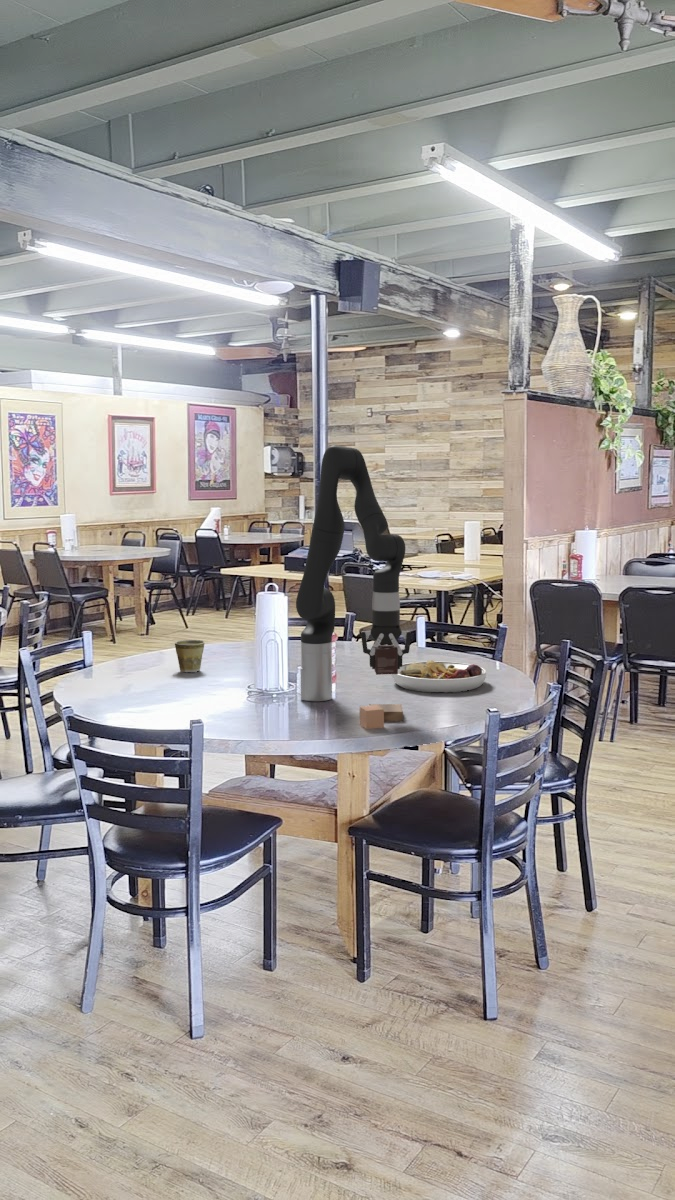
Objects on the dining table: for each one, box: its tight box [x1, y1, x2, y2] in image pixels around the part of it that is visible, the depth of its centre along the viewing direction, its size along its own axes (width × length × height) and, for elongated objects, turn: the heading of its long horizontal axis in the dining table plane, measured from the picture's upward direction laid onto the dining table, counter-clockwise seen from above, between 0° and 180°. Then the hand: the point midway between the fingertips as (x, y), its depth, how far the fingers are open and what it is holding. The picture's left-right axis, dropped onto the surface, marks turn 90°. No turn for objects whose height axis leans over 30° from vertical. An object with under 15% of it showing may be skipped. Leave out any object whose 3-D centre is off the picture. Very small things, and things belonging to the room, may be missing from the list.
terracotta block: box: [359, 705, 385, 730], centre depth 267 cm, size 5×5×5 cm
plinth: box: [368, 703, 404, 722], centre depth 277 cm, size 9×9×3 cm
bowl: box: [391, 660, 487, 693], centre depth 320 cm, size 30×30×8 cm
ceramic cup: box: [174, 639, 205, 673], centre depth 345 cm, size 13×10×10 cm
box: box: [373, 645, 398, 676], centre depth 276 cm, size 6×6×7 cm
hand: (386, 668), depth 276 cm, fingers closed on box, 6 cm apart
